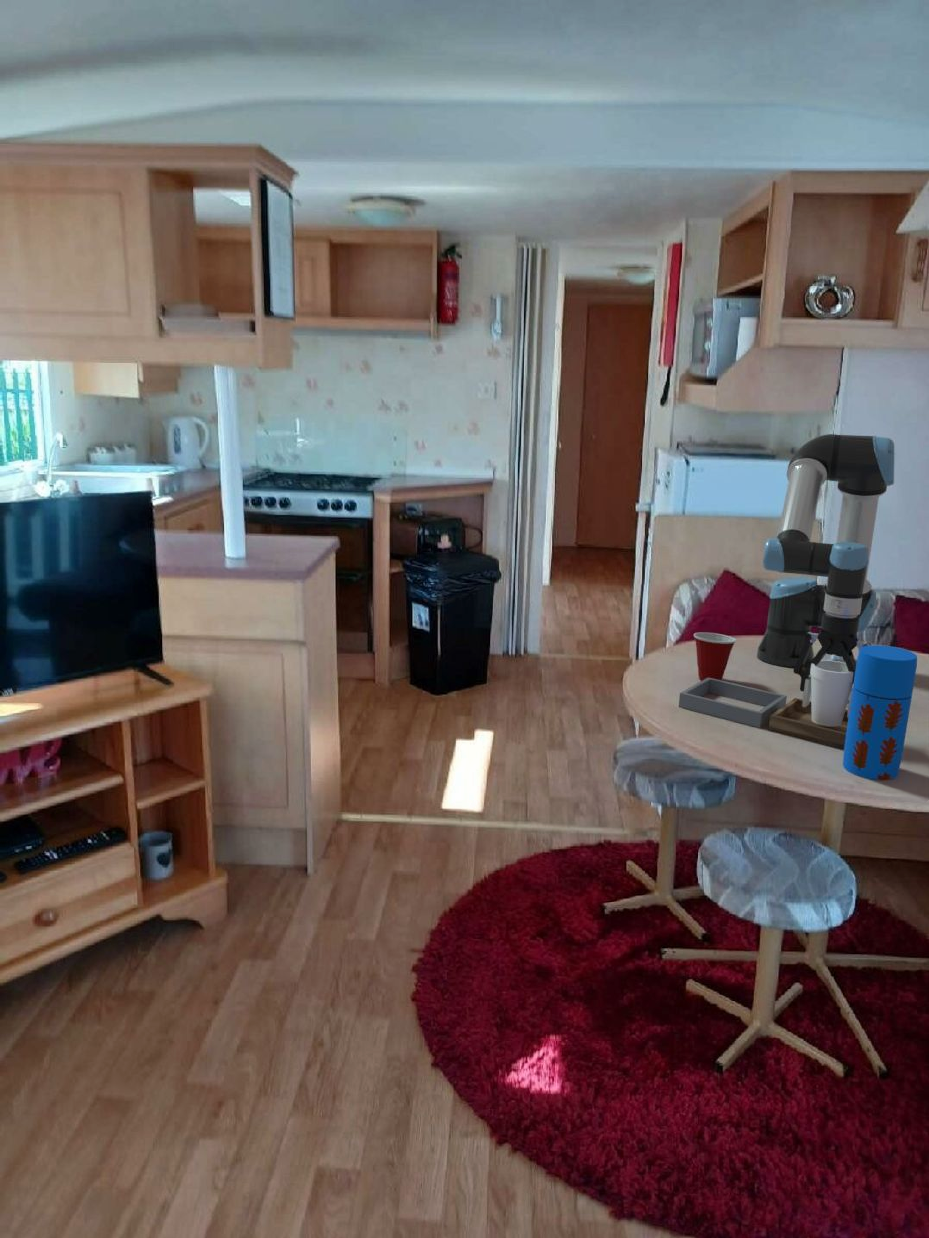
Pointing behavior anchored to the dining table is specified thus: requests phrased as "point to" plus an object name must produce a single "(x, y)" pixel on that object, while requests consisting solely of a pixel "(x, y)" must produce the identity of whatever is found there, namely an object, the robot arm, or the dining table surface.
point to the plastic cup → (712, 654)
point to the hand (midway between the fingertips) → (827, 710)
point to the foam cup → (829, 692)
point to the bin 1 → (728, 711)
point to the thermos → (879, 711)
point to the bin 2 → (807, 725)
